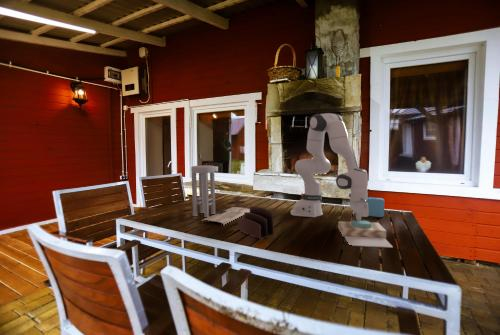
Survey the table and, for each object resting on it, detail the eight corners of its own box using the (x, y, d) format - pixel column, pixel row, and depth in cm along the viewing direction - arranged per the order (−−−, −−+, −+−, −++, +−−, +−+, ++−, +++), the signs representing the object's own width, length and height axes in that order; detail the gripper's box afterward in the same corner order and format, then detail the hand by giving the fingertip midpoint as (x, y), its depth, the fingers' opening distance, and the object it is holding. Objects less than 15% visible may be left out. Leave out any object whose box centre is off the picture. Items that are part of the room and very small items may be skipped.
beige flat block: (342, 236, 144) (342, 229, 144) (338, 227, 158) (338, 221, 158) (386, 238, 140) (386, 230, 140) (378, 229, 154) (378, 222, 154)
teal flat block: (353, 227, 147) (353, 223, 146) (351, 223, 152) (351, 220, 152) (371, 227, 145) (371, 224, 145) (368, 224, 151) (368, 220, 151)
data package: (383, 215, 182) (384, 198, 181) (383, 217, 178) (384, 199, 177) (364, 213, 187) (365, 196, 186) (364, 215, 183) (364, 198, 182)
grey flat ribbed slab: (231, 210, 205) (231, 206, 205) (253, 212, 196) (253, 209, 196) (201, 223, 173) (200, 219, 173) (226, 227, 164) (226, 222, 164)
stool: (188, 217, 184) (186, 167, 180) (200, 212, 198) (199, 165, 195) (208, 219, 178) (207, 167, 175) (219, 213, 193) (218, 165, 189)
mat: (349, 245, 131) (349, 244, 131) (344, 237, 143) (344, 236, 143) (392, 247, 128) (392, 246, 128) (384, 238, 140) (384, 238, 140)
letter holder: (251, 227, 162) (250, 204, 161) (274, 235, 147) (273, 210, 145) (237, 230, 156) (237, 207, 155) (260, 240, 141) (260, 214, 139)
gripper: (372, 200, 143) (371, 225, 144) (358, 193, 163) (358, 215, 165) (360, 200, 143) (359, 225, 145) (348, 193, 164) (347, 215, 165)
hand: (358, 220), depth 155 cm, fingers closed
